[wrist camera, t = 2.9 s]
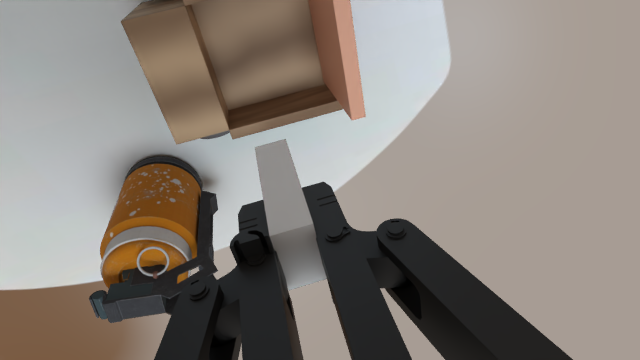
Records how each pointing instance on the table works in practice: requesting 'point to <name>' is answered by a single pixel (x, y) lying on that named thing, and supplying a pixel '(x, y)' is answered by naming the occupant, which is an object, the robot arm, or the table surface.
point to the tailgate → (338, 53)
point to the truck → (229, 64)
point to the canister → (155, 240)
